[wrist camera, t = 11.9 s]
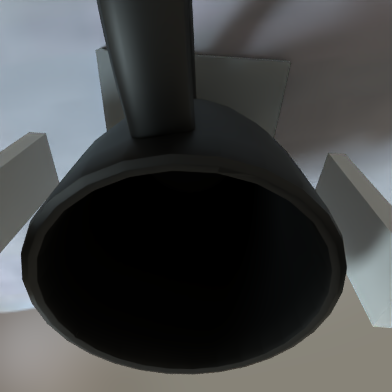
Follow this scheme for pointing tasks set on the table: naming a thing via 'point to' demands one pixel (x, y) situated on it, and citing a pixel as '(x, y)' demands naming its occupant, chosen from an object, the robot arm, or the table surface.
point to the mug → (180, 221)
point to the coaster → (218, 86)
